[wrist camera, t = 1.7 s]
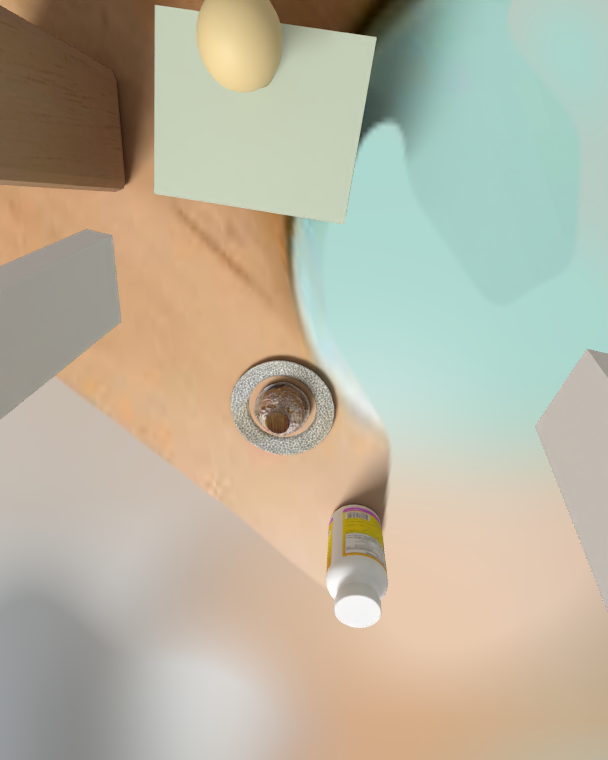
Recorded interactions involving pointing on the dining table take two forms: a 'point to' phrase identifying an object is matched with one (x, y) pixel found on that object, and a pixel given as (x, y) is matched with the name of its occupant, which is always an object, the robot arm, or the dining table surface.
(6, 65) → the block
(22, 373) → the robot arm
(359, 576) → the supplement bottle
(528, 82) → the dining table surface
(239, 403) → the speckled grey ring
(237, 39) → the lid
